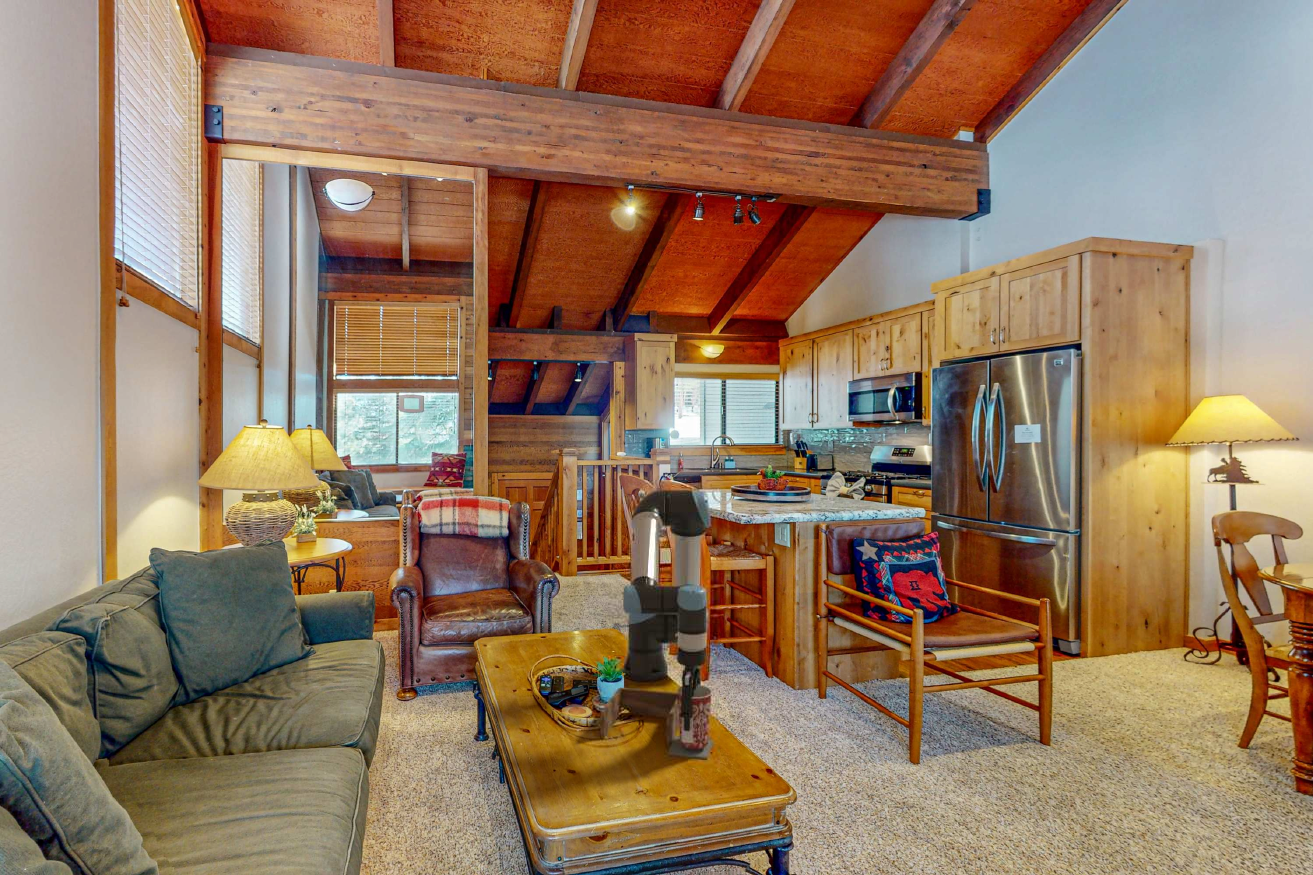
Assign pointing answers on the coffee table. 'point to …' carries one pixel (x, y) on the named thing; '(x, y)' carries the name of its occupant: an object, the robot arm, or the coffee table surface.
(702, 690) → the mug
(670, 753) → the pad
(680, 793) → the coffee table surface
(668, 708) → the wooden u-shaped barrier
